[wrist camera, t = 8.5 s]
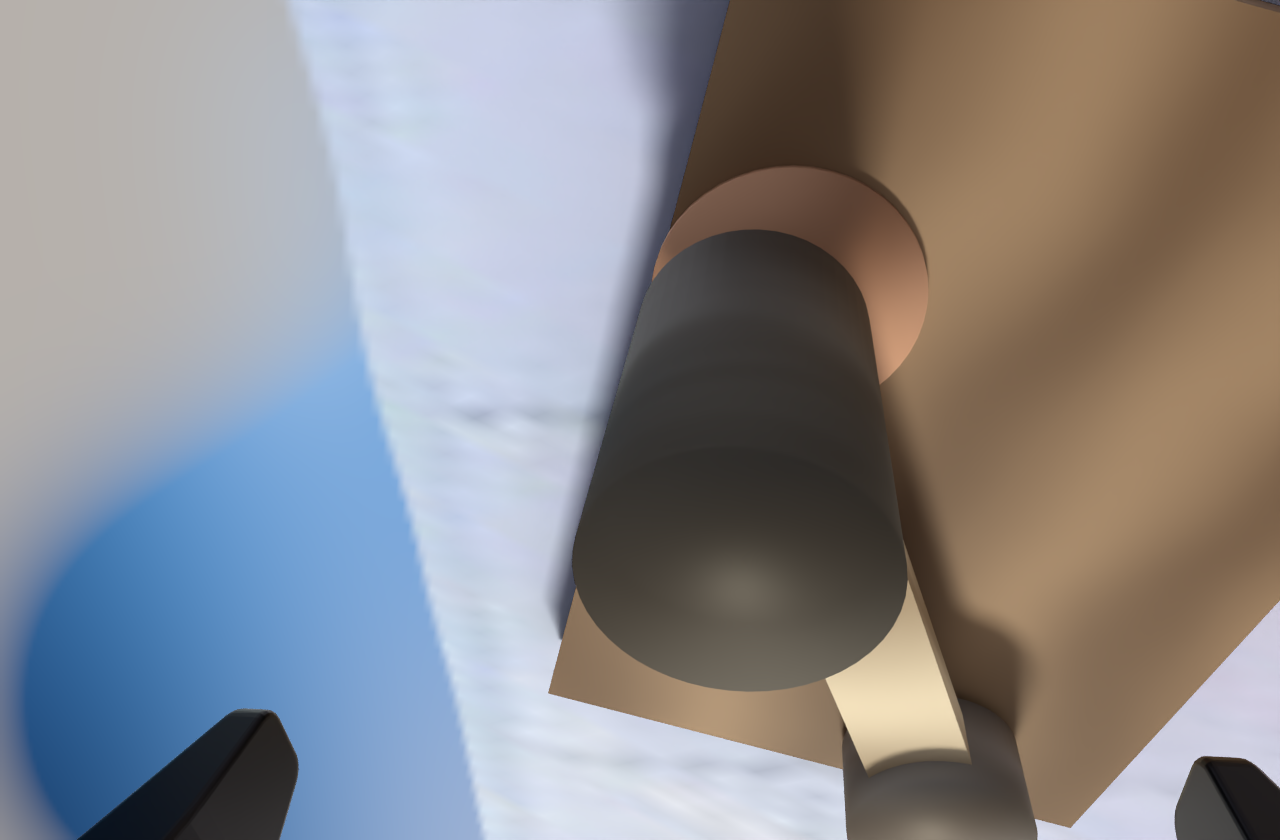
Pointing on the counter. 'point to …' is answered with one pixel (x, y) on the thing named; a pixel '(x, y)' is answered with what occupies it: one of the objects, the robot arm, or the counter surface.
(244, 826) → the robot arm
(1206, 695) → the counter surface
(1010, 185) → the board
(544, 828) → the counter surface
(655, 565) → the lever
